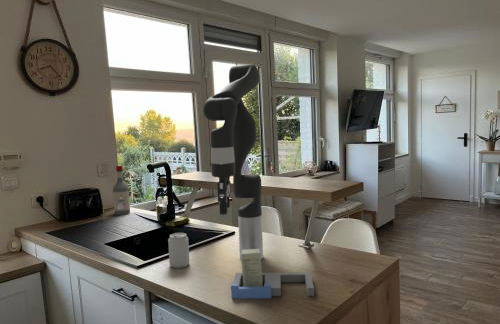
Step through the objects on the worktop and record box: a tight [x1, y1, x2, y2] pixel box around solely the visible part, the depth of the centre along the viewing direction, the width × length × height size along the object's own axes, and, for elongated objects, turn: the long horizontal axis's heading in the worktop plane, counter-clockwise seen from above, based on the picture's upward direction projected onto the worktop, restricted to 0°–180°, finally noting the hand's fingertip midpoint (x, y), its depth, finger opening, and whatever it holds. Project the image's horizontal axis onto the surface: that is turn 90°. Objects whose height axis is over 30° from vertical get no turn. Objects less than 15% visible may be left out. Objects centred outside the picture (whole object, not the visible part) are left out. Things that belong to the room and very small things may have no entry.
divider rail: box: [230, 271, 315, 300], centre depth 118 cm, size 14×25×4 cm, turn 86°
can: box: [167, 232, 190, 269], centre depth 141 cm, size 8×8×12 cm
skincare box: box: [241, 249, 264, 287], centre depth 119 cm, size 6×4×12 cm
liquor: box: [112, 165, 131, 216], centre depth 232 cm, size 9×9×30 cm
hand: (225, 210), depth 121 cm, fingers open, 8 cm apart
